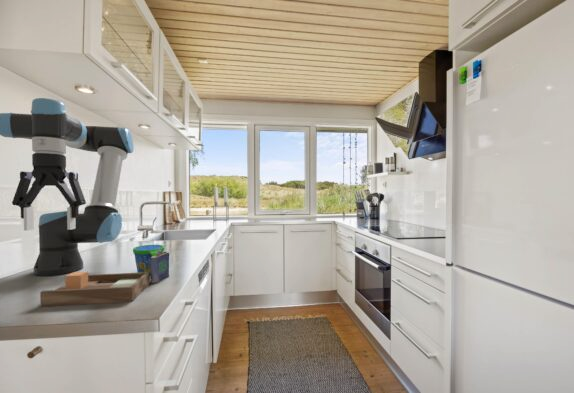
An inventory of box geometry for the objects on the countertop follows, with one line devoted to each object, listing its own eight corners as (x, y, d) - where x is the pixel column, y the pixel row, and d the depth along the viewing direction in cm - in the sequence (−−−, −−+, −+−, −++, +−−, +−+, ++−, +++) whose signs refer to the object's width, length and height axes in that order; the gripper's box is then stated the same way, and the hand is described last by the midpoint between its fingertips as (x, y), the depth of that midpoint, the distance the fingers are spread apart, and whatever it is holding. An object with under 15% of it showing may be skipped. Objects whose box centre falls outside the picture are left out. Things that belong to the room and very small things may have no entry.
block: (73, 285, 85) (73, 272, 85) (88, 284, 86) (88, 271, 86) (65, 289, 81) (65, 276, 81) (80, 289, 82) (80, 275, 82)
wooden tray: (73, 287, 90) (73, 275, 90) (149, 284, 94) (149, 272, 94) (40, 306, 75) (40, 291, 75) (132, 301, 79) (132, 287, 79)
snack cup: (168, 276, 102) (168, 248, 102) (136, 282, 96) (136, 252, 96) (160, 267, 115) (159, 242, 115) (130, 271, 109) (130, 245, 109)
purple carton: (155, 284, 94) (155, 252, 94) (147, 283, 94) (147, 252, 94) (170, 276, 103) (170, 247, 103) (163, 275, 103) (163, 246, 103)
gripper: (-8, 150, 76) (-6, 232, 77) (85, 153, 80) (86, 230, 80) (14, 154, 84) (15, 228, 84) (99, 156, 87) (99, 227, 88)
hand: (50, 229), depth 82 cm, fingers open, 10 cm apart
